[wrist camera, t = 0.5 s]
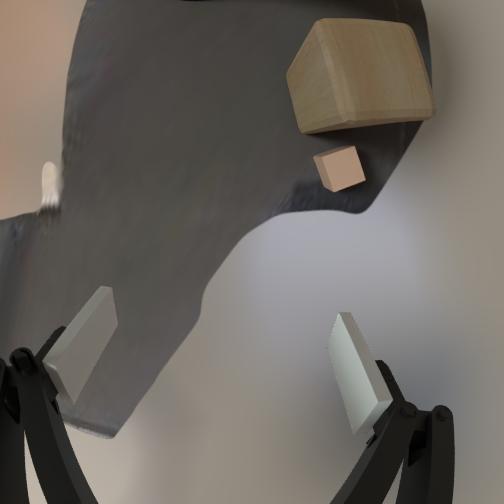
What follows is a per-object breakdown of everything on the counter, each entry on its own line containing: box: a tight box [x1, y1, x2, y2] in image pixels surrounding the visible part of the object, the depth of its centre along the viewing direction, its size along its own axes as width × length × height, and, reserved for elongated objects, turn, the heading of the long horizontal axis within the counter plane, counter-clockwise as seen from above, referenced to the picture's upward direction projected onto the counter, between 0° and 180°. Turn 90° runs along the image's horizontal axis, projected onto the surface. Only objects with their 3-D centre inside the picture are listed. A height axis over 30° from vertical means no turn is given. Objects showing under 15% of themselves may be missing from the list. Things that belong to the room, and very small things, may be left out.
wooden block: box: [286, 18, 436, 134], centre depth 26 cm, size 10×10×20 cm
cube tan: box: [313, 146, 365, 192], centre depth 37 cm, size 5×5×5 cm
